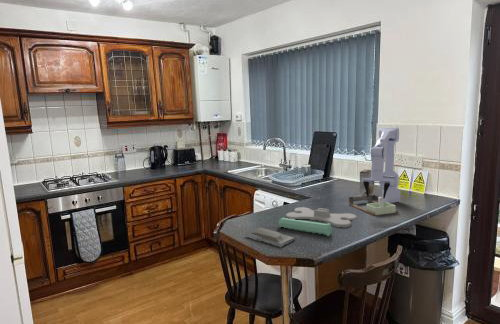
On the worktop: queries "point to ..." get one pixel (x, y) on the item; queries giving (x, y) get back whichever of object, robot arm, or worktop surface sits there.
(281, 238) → the grey stepped block
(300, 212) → the holder
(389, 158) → the robot arm
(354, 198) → the bay
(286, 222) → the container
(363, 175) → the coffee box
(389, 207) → the green tray with post
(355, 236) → the worktop surface
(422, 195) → the worktop surface
